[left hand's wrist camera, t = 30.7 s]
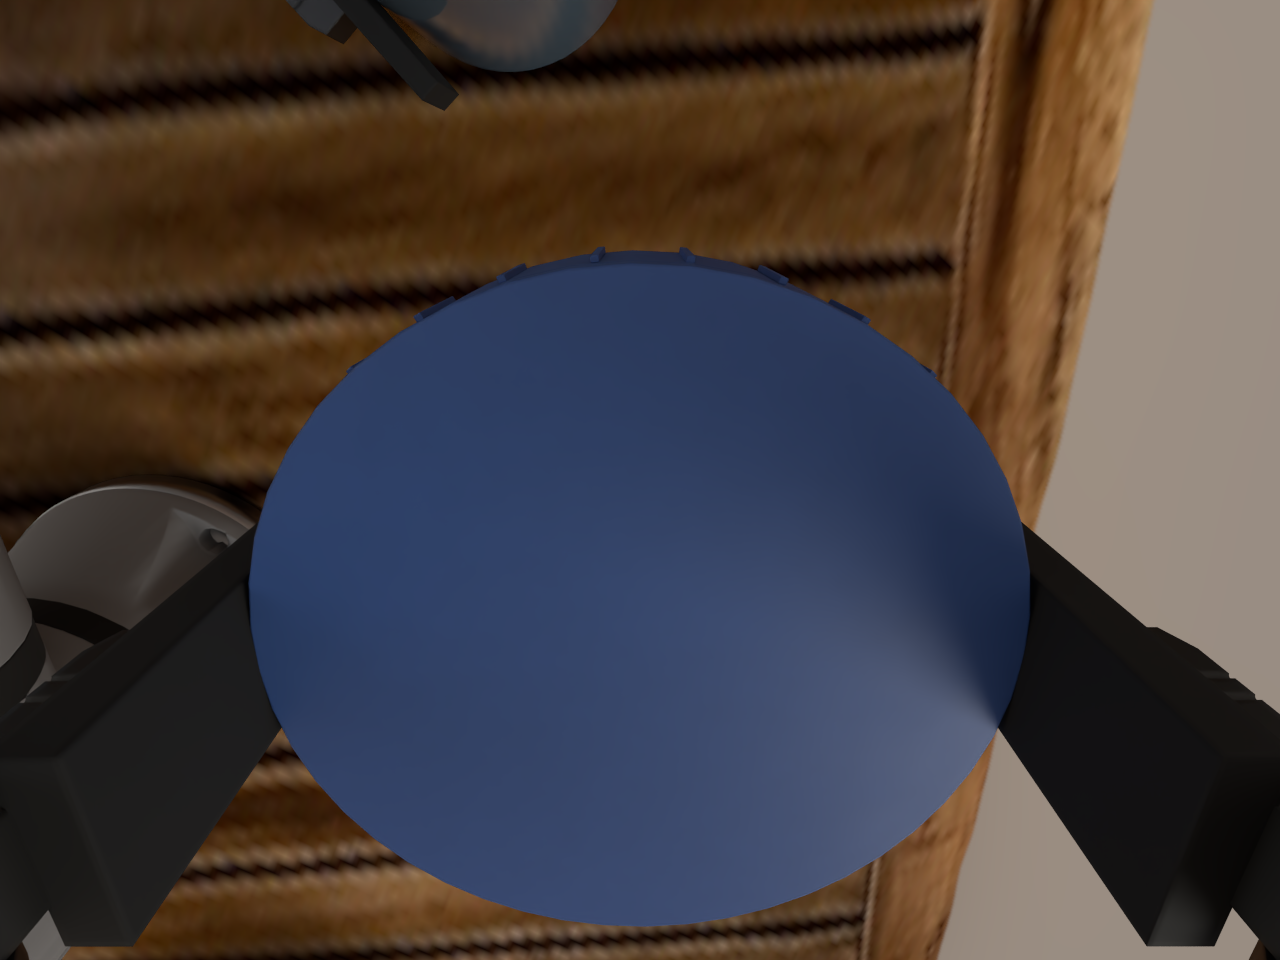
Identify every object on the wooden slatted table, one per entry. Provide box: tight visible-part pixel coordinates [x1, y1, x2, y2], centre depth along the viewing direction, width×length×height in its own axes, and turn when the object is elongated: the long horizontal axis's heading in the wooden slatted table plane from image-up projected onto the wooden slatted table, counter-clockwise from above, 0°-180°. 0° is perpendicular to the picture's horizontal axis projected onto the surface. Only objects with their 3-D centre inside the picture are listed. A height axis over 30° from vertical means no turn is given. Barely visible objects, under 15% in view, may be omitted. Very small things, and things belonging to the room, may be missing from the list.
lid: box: [249, 247, 1030, 926], centre depth 11 cm, size 11×12×2 cm
